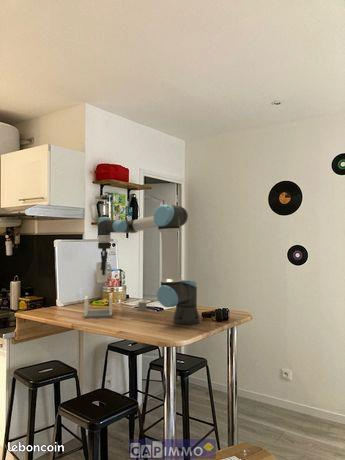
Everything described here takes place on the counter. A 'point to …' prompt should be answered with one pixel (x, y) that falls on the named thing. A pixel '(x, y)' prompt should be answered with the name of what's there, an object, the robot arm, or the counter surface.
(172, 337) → the counter surface
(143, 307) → the junction box
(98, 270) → the mug
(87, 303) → the grey u-shaped piece
